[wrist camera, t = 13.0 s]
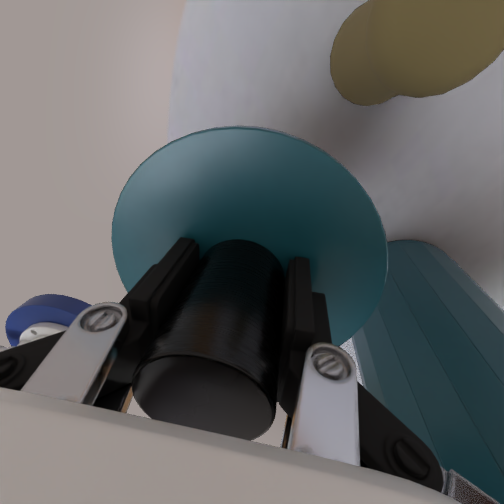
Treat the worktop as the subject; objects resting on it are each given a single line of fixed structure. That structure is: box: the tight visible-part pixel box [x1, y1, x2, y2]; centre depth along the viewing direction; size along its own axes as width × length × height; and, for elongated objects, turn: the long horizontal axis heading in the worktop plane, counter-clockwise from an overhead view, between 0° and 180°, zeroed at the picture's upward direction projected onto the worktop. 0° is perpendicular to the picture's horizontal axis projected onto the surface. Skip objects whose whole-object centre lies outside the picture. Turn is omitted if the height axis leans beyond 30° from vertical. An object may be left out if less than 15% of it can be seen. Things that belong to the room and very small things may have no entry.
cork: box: [330, 0, 504, 106], centre depth 13 cm, size 6×6×11 cm
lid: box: [112, 125, 388, 441], centre depth 9 cm, size 11×11×7 cm
